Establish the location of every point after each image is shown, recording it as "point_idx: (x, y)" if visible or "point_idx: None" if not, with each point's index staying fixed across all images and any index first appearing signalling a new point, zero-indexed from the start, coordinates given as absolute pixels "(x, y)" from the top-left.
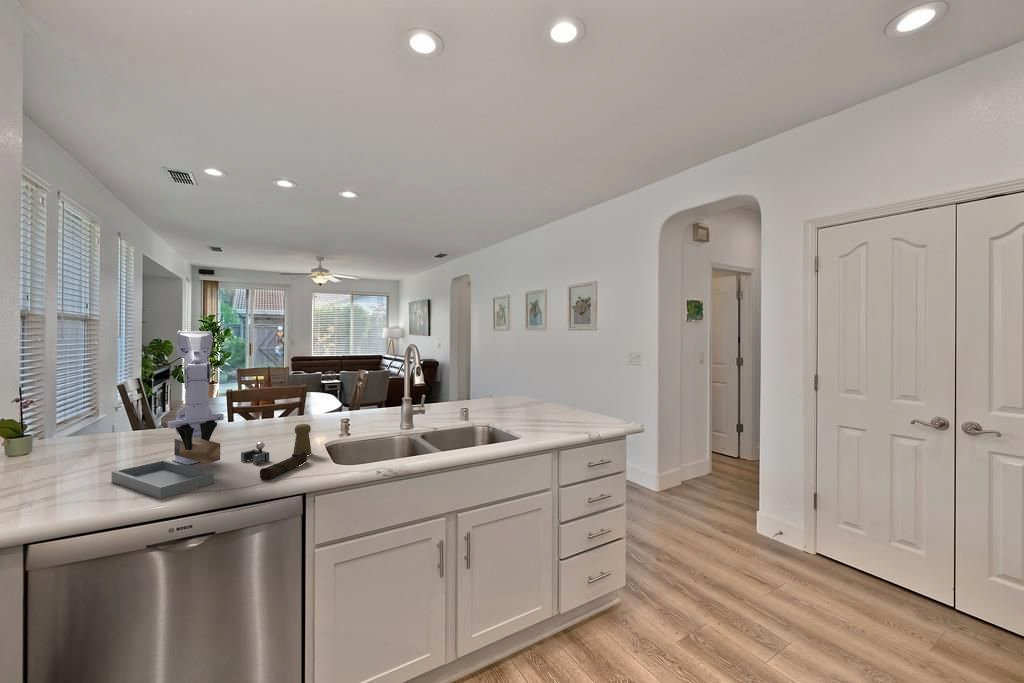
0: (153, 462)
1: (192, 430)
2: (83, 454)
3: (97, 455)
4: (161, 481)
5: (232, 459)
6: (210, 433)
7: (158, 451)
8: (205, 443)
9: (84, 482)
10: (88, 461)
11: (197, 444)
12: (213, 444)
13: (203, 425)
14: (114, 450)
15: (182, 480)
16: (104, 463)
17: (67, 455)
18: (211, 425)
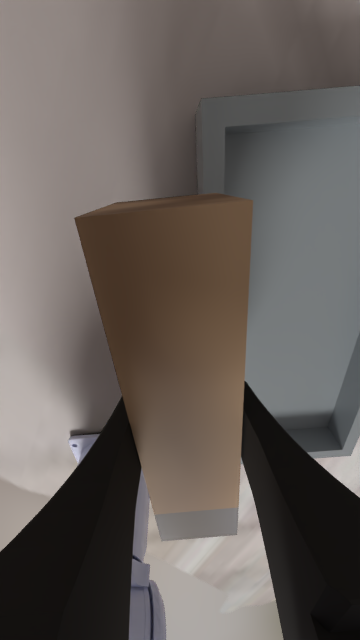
0: (242, 461)
1: (325, 547)
2: (237, 577)
3: (228, 566)
4: (297, 320)
5: (18, 395)
6: (86, 476)
7: (147, 542)
8: (185, 338)
9: (353, 458)
10: (257, 550)
11: (243, 356)
12: (151, 235)
13: (113, 627)
14: (196, 574)
15: (257, 271)
16: (250, 531)
17: (253, 581)
18: (42, 605)
